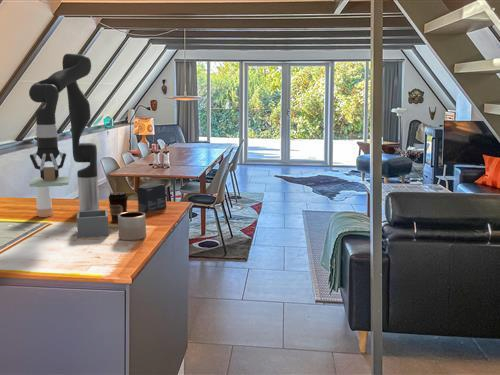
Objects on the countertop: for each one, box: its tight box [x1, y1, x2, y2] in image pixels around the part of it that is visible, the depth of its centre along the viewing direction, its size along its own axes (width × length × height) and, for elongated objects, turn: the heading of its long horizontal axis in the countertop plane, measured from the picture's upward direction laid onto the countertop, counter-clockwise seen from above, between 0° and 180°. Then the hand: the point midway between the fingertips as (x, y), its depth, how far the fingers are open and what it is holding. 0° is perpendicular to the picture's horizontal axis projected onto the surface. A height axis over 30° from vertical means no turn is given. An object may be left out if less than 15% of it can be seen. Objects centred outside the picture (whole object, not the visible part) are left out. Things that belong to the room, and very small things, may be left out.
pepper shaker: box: [35, 175, 54, 218], centre depth 237 cm, size 7×7×19 cm
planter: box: [117, 211, 147, 242], centre depth 204 cm, size 11×11×10 cm
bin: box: [76, 209, 110, 239], centre depth 211 cm, size 12×12×8 cm
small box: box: [136, 182, 167, 213], centre depth 252 cm, size 13×7×12 cm, turn 144°
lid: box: [29, 166, 70, 188], centre depth 202 cm, size 14×14×7 cm
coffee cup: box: [108, 191, 129, 223], centre depth 228 cm, size 9×8×13 cm
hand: (49, 178), depth 202 cm, fingers closed on lid, 4 cm apart
